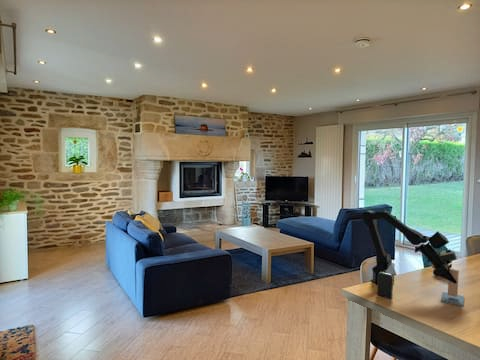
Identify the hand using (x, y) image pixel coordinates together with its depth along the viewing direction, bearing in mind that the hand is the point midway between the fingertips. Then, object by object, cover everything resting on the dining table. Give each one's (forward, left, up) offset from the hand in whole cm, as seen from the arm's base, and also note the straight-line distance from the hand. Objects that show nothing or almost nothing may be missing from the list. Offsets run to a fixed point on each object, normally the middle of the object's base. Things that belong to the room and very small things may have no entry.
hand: (456, 282), depth 155 cm
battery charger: (-32, +5, -9) cm, 33 cm away
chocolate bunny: (+16, +33, -9) cm, 38 cm away
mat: (-1, +1, -9) cm, 9 cm away
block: (-1, +1, -7) cm, 7 cm away
